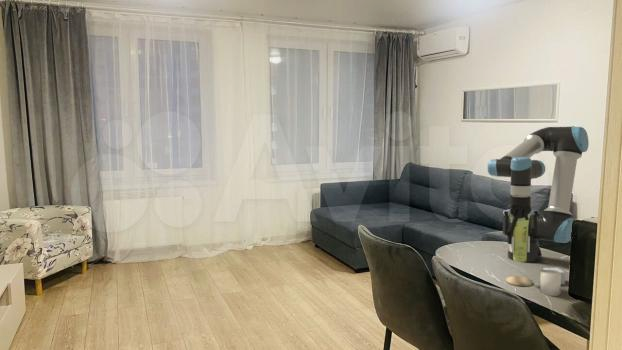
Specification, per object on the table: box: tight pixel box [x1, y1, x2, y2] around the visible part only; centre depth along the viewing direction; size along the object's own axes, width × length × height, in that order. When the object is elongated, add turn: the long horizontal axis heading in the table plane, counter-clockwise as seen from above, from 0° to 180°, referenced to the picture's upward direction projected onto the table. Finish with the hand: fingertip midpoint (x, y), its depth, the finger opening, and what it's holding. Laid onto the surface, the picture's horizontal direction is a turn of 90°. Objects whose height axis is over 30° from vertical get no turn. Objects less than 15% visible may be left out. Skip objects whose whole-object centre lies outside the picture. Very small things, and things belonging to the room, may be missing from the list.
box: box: [542, 267, 566, 285], centre depth 187 cm, size 6×6×5 cm
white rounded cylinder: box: [539, 269, 562, 297], centre depth 175 cm, size 7×7×8 cm
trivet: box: [505, 275, 533, 287], centre depth 188 cm, size 10×10×1 cm
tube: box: [509, 213, 530, 263], centre depth 186 cm, size 6×5×20 cm
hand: (519, 251), depth 186 cm, fingers closed on tube, 6 cm apart
